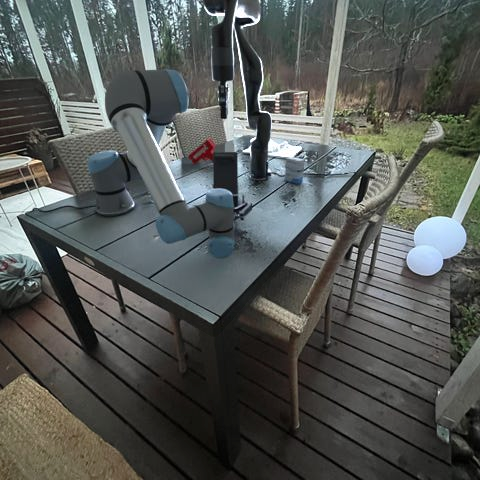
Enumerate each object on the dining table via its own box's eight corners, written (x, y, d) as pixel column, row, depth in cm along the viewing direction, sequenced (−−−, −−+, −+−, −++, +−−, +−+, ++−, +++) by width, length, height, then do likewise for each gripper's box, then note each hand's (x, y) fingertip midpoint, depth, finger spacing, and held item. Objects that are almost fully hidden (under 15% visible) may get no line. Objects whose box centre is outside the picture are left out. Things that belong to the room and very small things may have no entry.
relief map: (291, 159, 177) (291, 151, 174) (243, 153, 190) (243, 145, 187) (302, 149, 197) (303, 142, 194) (258, 144, 211) (258, 137, 208)
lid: (213, 152, 104) (210, 148, 96) (237, 152, 104) (237, 148, 96) (213, 194, 106) (211, 194, 98) (237, 194, 106) (237, 193, 98)
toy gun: (225, 158, 166) (210, 137, 162) (223, 160, 163) (207, 139, 159) (205, 174, 176) (191, 154, 172) (202, 176, 173) (188, 156, 169)
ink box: (302, 181, 142) (305, 159, 136) (297, 184, 139) (300, 161, 133) (289, 177, 147) (291, 156, 141) (284, 180, 144) (285, 158, 138)
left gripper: (187, 234, 93) (196, 206, 111) (260, 233, 93) (257, 206, 111) (185, 214, 89) (194, 189, 107) (261, 214, 89) (257, 189, 107)
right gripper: (213, 64, 96) (215, 114, 105) (209, 64, 84) (212, 120, 93) (234, 64, 96) (235, 114, 105) (233, 64, 84) (234, 120, 93)
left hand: (226, 198), depth 109 cm, fingers open, 13 cm apart
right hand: (224, 117), depth 99 cm, fingers open, 8 cm apart
